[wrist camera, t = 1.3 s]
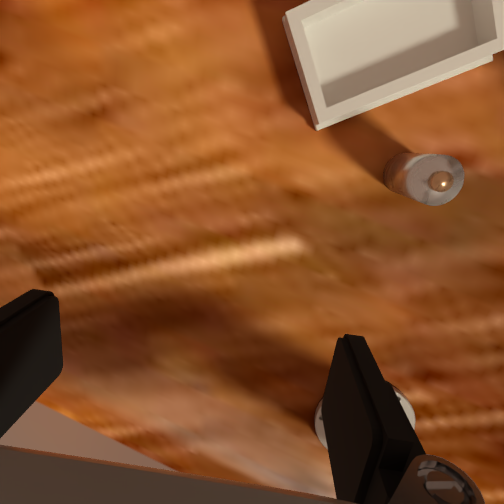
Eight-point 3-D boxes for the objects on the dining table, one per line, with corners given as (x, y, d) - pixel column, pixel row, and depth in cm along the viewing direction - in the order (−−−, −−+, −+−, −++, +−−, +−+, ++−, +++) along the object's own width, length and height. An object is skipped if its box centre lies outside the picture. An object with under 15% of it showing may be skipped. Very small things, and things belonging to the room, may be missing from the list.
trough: (486, 63, 29) (513, 52, 26) (315, 131, 32) (320, 129, 29) (466, -65, 27) (493, -95, 23) (282, 20, 29) (283, 5, 26)
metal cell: (427, 185, 33) (474, 197, 25) (388, 198, 34) (422, 214, 26) (419, 146, 32) (465, 147, 24) (378, 161, 33) (411, 166, 25)
